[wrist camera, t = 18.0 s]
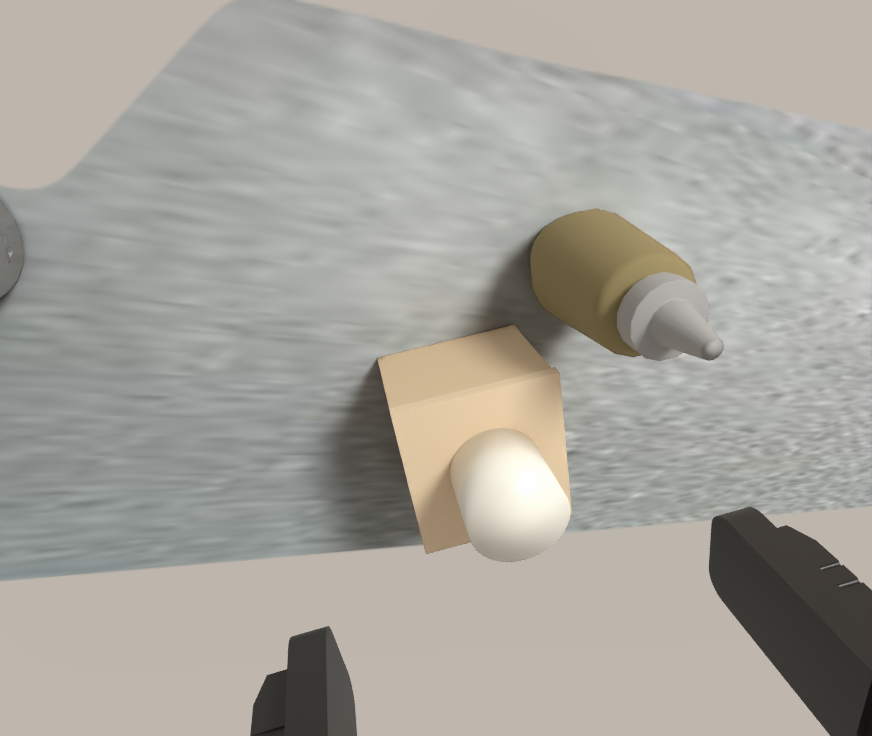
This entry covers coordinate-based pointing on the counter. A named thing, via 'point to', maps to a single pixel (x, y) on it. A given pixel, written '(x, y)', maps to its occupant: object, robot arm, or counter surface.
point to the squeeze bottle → (621, 288)
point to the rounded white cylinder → (508, 495)
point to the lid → (461, 420)
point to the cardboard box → (458, 365)
